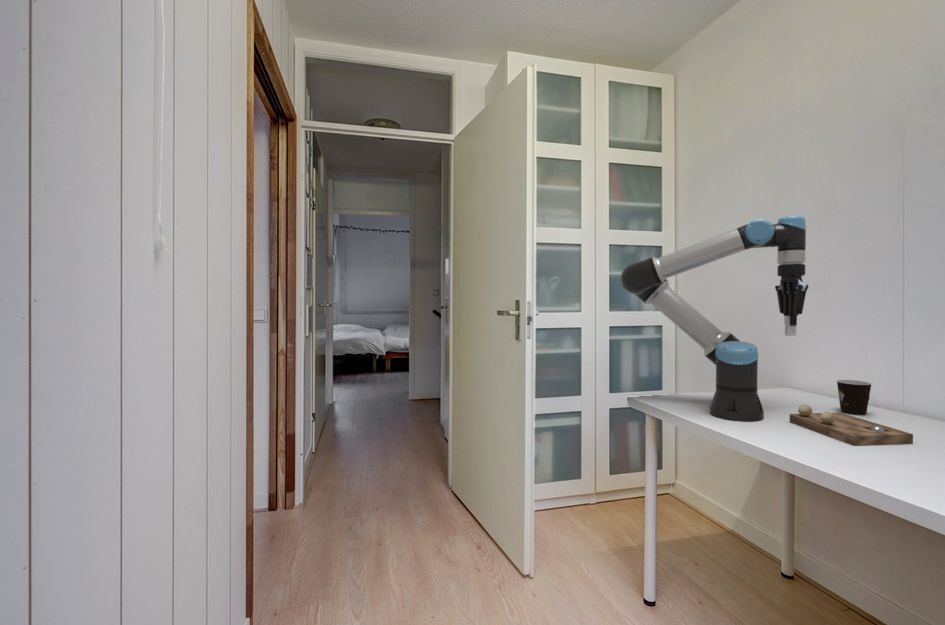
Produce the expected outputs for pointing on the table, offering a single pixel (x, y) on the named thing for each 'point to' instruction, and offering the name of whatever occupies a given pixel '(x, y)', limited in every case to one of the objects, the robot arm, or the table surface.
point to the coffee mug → (853, 396)
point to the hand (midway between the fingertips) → (790, 335)
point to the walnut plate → (852, 430)
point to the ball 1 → (805, 410)
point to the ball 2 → (827, 417)
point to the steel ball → (877, 429)
